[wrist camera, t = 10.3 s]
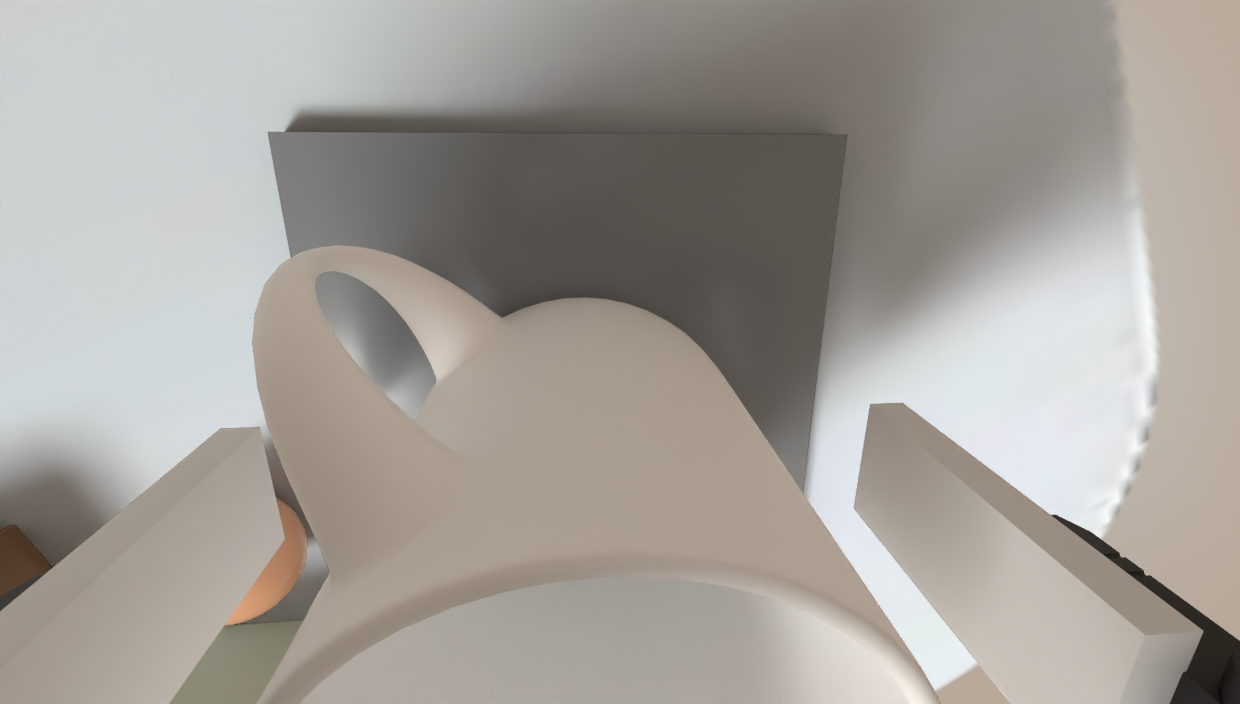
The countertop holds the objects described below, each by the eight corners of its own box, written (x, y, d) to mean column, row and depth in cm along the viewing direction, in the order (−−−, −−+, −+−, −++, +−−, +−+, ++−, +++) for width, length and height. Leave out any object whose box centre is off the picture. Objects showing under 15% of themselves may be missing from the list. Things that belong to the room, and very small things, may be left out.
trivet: (283, 132, 14) (267, 132, 14) (833, 134, 16) (846, 134, 15) (364, 592, 19) (356, 611, 18) (782, 566, 20) (791, 583, 19)
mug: (534, 105, 14) (448, -2, 4) (780, 456, 18) (1062, 867, 8) (267, 313, 15) (-345, 657, 5) (553, 602, 19) (538, 1128, 9)
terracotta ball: (190, 470, 17) (102, 548, 14) (315, 465, 17) (258, 539, 14) (217, 568, 18) (142, 662, 15) (334, 562, 19) (285, 651, 15)
